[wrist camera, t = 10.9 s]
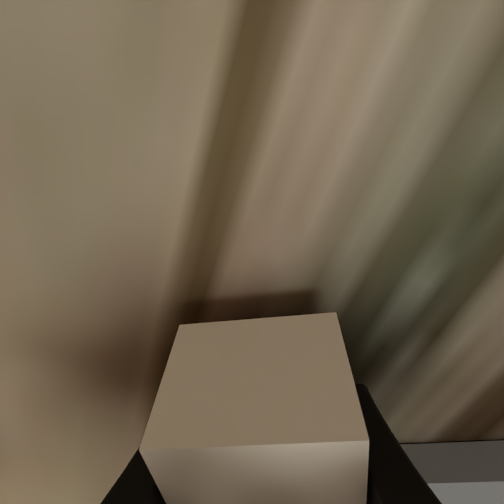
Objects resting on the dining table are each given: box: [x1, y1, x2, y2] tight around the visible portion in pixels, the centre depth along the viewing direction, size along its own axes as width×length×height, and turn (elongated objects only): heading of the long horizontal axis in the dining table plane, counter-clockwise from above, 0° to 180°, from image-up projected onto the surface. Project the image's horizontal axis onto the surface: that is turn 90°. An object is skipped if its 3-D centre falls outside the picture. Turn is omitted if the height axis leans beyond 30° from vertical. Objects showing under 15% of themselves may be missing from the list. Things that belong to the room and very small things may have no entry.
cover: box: [139, 312, 369, 504], centre depth 10 cm, size 4×7×4 cm, turn 8°
